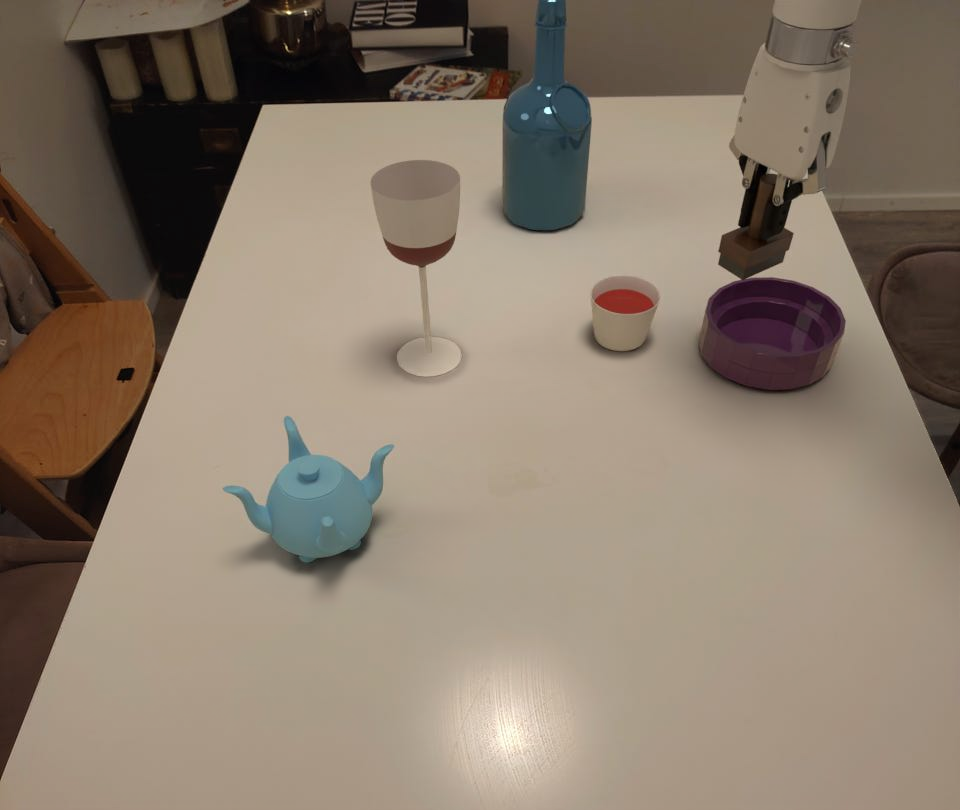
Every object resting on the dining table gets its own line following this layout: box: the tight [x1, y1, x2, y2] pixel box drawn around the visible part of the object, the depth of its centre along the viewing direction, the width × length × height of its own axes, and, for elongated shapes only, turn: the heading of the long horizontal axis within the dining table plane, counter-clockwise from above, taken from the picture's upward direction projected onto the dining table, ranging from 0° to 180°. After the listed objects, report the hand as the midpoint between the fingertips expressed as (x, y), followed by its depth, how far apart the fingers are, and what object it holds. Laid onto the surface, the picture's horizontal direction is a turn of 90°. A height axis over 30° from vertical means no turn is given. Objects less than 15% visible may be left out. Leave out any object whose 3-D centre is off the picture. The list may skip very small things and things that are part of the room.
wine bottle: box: [501, 0, 593, 231], centre depth 123 cm, size 14×13×30 cm
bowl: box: [698, 276, 847, 391], centre depth 111 cm, size 17×17×6 cm
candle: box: [589, 274, 661, 352], centre depth 113 cm, size 9×9×6 cm
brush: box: [717, 173, 795, 280], centre depth 94 cm, size 7×4×10 cm, turn 124°
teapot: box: [222, 415, 395, 563], centre depth 91 cm, size 13×13×10 cm
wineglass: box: [370, 159, 462, 378], centre depth 104 cm, size 9×10×23 cm
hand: (760, 228), depth 95 cm, fingers closed on brush, 2 cm apart
